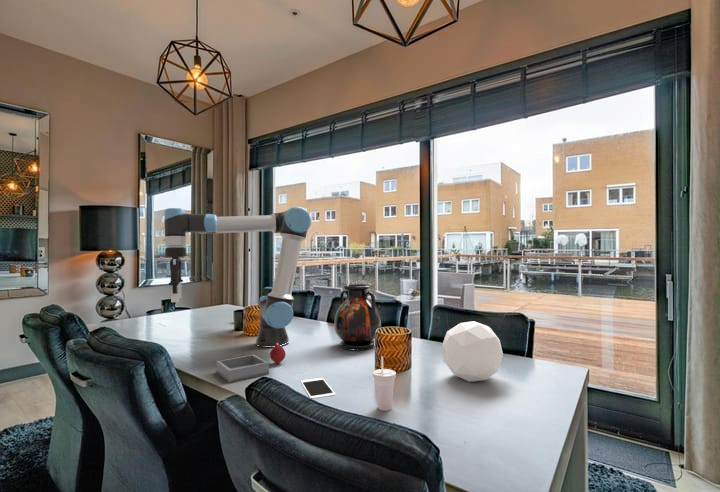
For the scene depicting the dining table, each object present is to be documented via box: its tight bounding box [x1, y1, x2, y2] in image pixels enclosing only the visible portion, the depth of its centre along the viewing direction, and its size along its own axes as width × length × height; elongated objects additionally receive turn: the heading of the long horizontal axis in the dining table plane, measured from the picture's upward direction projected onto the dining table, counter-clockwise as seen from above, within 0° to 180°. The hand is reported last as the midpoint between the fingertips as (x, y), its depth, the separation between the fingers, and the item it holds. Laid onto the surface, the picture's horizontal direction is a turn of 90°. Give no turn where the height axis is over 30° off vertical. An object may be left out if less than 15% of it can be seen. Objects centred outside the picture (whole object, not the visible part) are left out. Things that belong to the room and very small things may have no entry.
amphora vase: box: [333, 283, 382, 351], centre depth 167 cm, size 22×22×28 cm
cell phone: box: [300, 377, 336, 400], centre depth 116 cm, size 8×16×1 cm, turn 20°
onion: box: [269, 343, 286, 365], centre depth 141 cm, size 6×6×8 cm
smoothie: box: [372, 356, 397, 412], centre depth 100 cm, size 6×6×14 cm
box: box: [215, 354, 270, 384], centre depth 131 cm, size 14×14×4 cm
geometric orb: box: [441, 320, 504, 383], centre depth 122 cm, size 19×20×20 cm
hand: (176, 300), depth 145 cm, fingers open, 13 cm apart
